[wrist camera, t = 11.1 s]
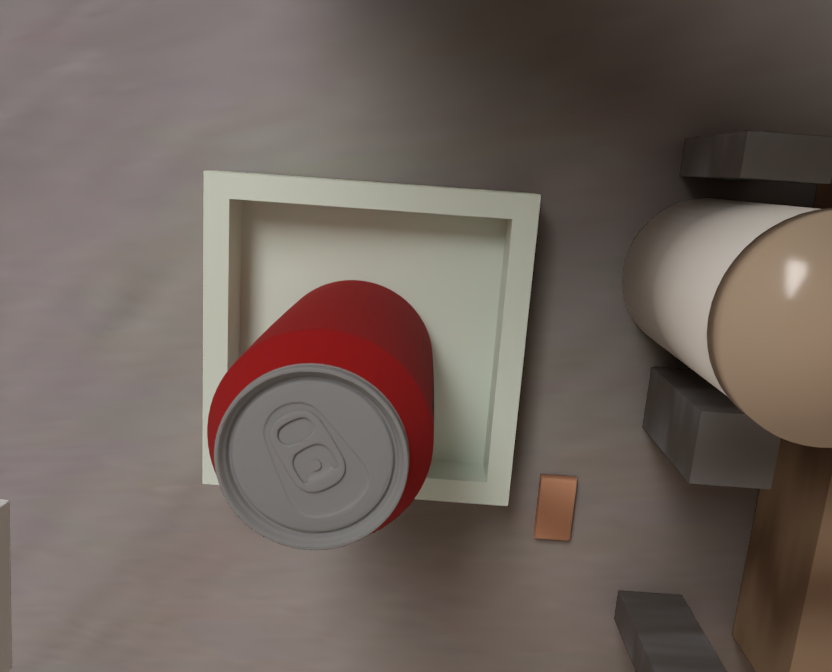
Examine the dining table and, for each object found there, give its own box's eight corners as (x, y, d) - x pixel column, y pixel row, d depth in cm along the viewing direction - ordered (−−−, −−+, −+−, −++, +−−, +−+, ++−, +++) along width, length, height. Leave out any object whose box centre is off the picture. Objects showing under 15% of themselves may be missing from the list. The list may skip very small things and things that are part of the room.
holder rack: (581, 121, 29) (618, 108, 24) (875, 141, 29) (985, 134, 24) (523, 619, 35) (542, 710, 29) (773, 637, 35) (843, 732, 29)
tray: (222, 170, 30) (203, 170, 28) (532, 192, 30) (541, 194, 28) (219, 460, 33) (202, 483, 31) (502, 481, 33) (507, 506, 31)
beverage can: (326, 451, 32) (267, 610, 21) (249, 321, 31) (139, 411, 19) (460, 384, 32) (478, 510, 20) (386, 247, 30) (359, 295, 19)
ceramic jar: (631, 190, 30) (742, 200, 19) (794, 201, 30) (996, 218, 19) (610, 348, 32) (702, 439, 21) (765, 359, 32) (937, 456, 21)
